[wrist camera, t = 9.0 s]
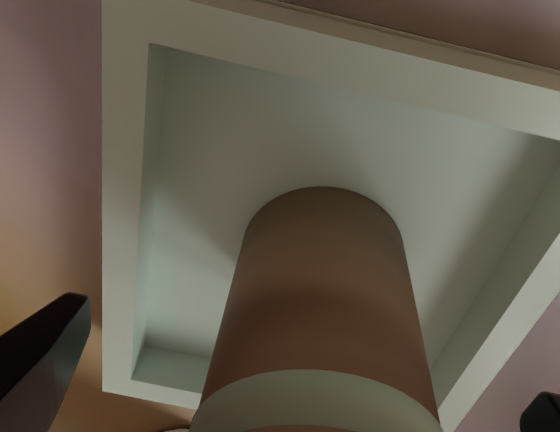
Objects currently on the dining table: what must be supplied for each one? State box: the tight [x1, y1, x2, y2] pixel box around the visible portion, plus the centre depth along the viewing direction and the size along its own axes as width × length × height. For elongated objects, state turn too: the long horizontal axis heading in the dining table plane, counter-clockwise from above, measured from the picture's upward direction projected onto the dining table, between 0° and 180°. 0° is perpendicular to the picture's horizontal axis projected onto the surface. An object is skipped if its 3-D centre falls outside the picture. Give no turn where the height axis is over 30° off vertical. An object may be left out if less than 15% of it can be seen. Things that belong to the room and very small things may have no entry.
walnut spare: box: [189, 186, 444, 432], centre depth 9 cm, size 4×4×7 cm
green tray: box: [102, 0, 560, 432], centre depth 12 cm, size 11×10×2 cm
